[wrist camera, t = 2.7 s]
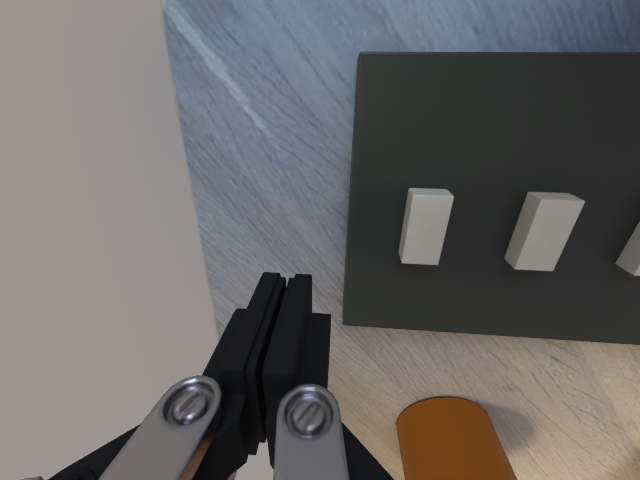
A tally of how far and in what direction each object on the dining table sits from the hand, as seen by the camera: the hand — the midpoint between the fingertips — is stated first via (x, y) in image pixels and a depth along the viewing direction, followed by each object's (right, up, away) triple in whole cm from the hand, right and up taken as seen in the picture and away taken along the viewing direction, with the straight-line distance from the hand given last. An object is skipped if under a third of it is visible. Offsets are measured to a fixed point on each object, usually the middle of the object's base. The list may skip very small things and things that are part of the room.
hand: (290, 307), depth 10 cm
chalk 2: (+13, +3, +5) cm, 14 cm away
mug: (+13, -17, +19) cm, 28 cm away
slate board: (+18, +4, +7) cm, 20 cm away
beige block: (+7, +3, +6) cm, 9 cm away
